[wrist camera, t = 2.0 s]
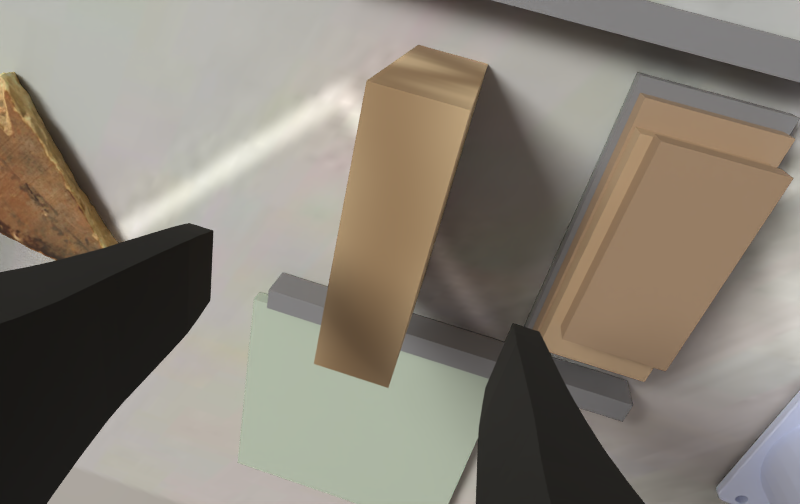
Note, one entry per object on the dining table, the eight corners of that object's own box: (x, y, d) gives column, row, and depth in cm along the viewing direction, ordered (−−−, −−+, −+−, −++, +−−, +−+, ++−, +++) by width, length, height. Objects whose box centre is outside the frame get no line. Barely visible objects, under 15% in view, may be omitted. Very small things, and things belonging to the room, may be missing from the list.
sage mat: (504, 370, 24) (504, 379, 23) (437, 521, 30) (436, 530, 29) (259, 292, 25) (253, 299, 24) (242, 454, 31) (237, 462, 30)
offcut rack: (831, 49, 16) (892, 64, 13) (616, 396, 23) (628, 449, 21) (328, -83, 17) (293, -93, 14) (280, 290, 24) (251, 327, 22)
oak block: (488, 63, 18) (470, 110, 12) (424, 276, 22) (388, 388, 16) (418, 44, 18) (366, 80, 12) (369, 259, 23) (313, 364, 17)
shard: (153, 281, 26) (130, 301, 25) (45, 303, 29) (17, 322, 27) (30, 65, 22) (-8, 71, 20) (-86, 111, 24) (-127, 120, 23)
